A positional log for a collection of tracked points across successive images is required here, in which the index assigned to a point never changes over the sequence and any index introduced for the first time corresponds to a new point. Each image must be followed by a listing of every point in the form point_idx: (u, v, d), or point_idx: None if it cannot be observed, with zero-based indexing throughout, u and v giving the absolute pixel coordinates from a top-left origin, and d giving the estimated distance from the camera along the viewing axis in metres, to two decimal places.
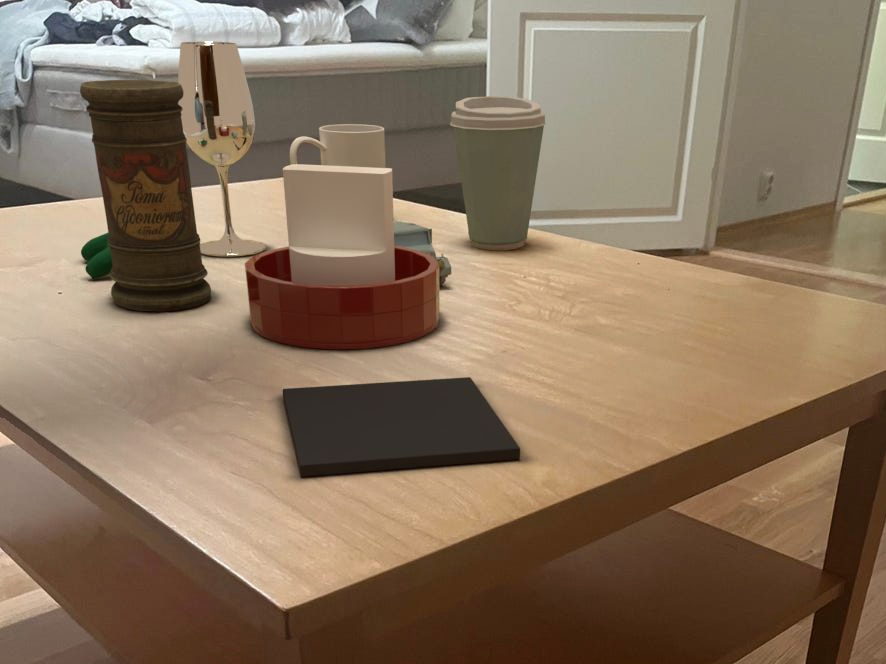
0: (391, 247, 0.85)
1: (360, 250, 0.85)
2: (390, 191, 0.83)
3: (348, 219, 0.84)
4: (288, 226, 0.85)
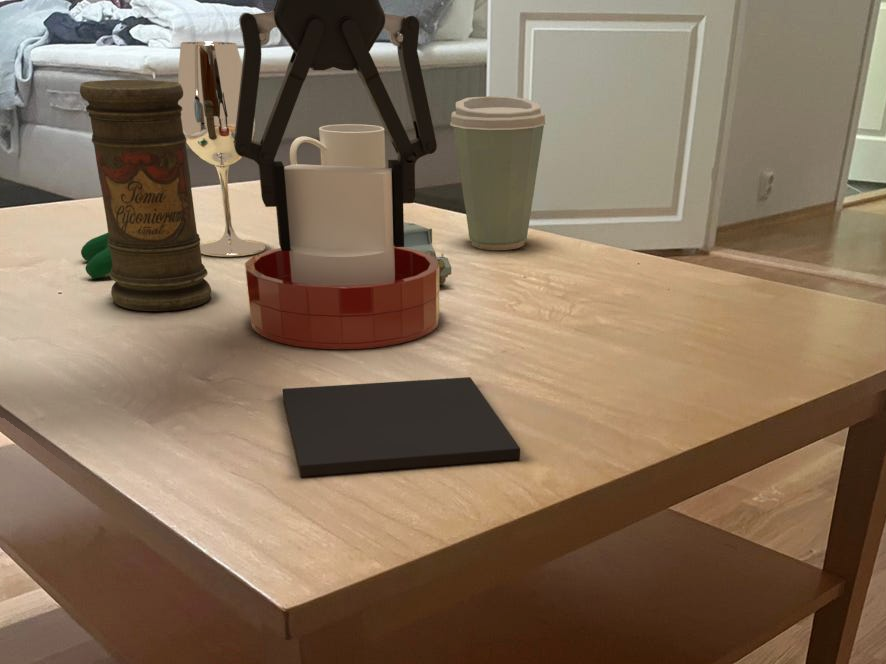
0: (391, 247, 0.85)
1: (360, 250, 0.85)
2: (390, 191, 0.83)
3: (348, 219, 0.84)
4: None
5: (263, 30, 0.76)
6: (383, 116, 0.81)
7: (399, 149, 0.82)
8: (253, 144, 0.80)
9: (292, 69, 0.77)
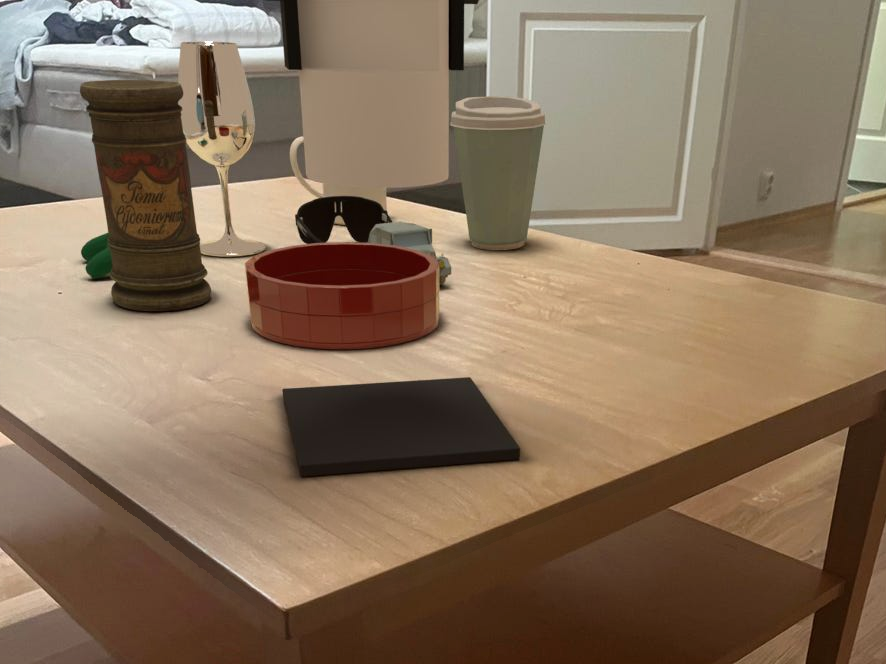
0: (446, 68, 0.59)
1: (403, 70, 0.59)
2: None
3: (385, 22, 0.58)
4: None
5: None
6: None
7: None
8: None
9: None
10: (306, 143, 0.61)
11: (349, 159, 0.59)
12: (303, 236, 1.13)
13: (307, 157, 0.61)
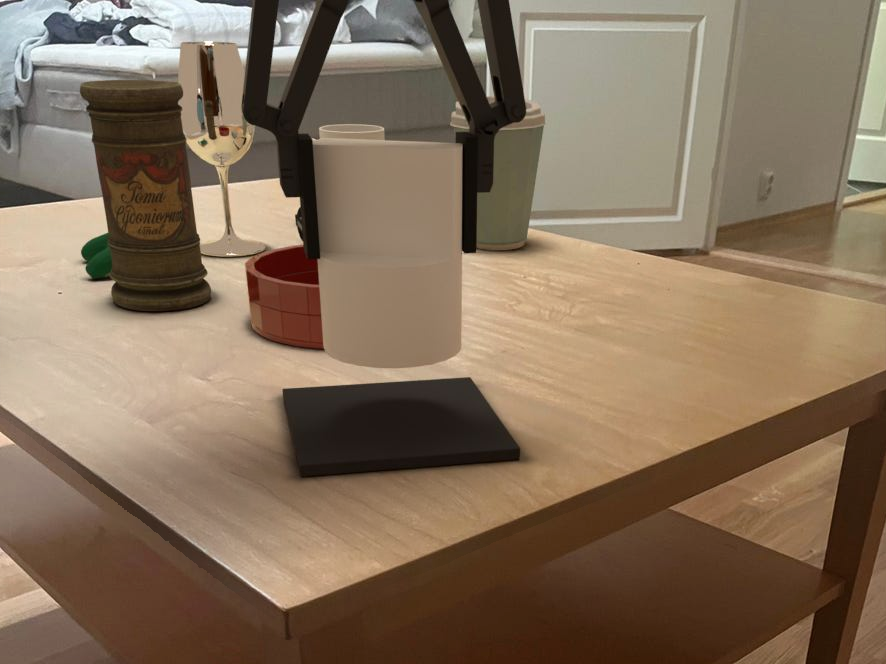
0: (459, 253, 0.61)
1: (417, 258, 0.61)
2: (460, 175, 0.59)
3: (400, 214, 0.60)
4: None
5: None
6: (453, 68, 0.57)
7: (474, 116, 0.58)
8: (269, 108, 0.56)
9: None
10: (324, 321, 0.63)
11: (365, 342, 0.61)
12: None
13: (325, 334, 0.63)
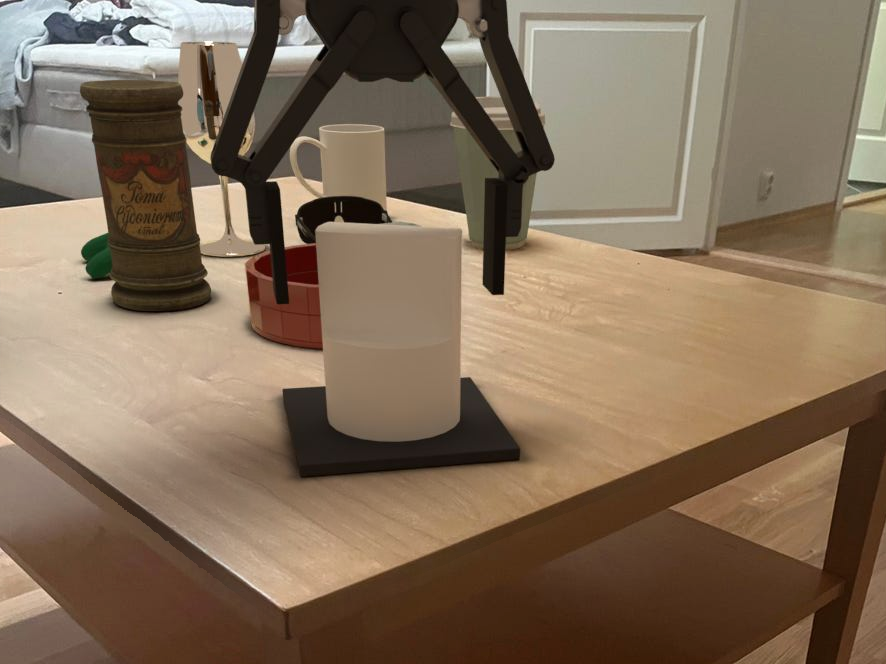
0: (458, 332, 0.64)
1: (418, 337, 0.63)
2: (459, 260, 0.62)
3: (402, 297, 0.62)
4: (321, 305, 0.63)
5: (286, 15, 0.54)
6: (475, 130, 0.59)
7: (503, 168, 0.60)
8: (237, 158, 0.57)
9: (318, 69, 0.55)
10: (328, 395, 0.66)
11: (368, 417, 0.64)
12: (303, 236, 1.13)
13: (329, 407, 0.66)
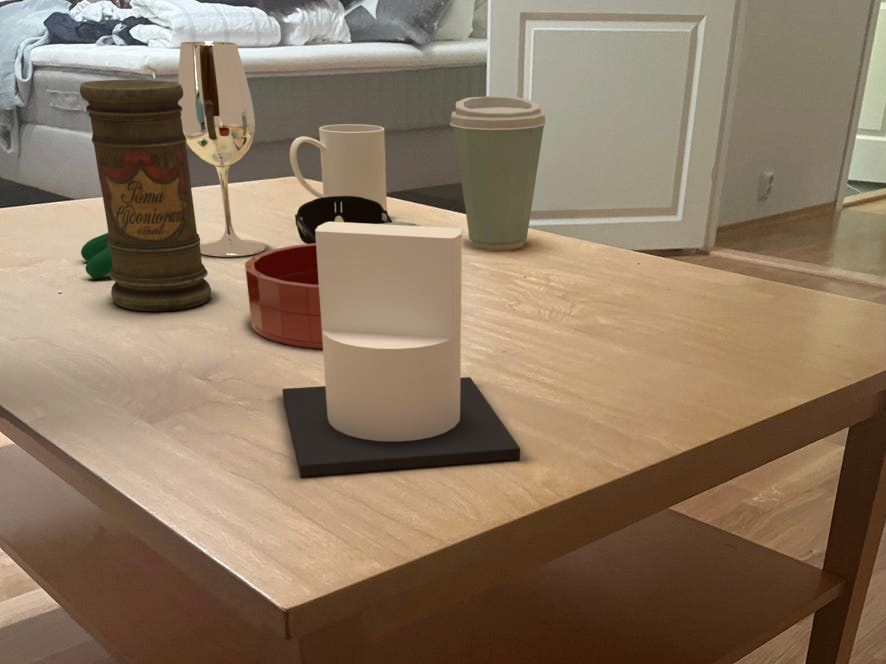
0: (458, 332, 0.64)
1: (418, 337, 0.63)
2: (459, 260, 0.62)
3: (402, 296, 0.62)
4: (321, 305, 0.63)
5: None
6: None
7: None
8: None
9: None
10: (328, 395, 0.66)
11: (368, 417, 0.64)
12: (303, 236, 1.13)
13: (329, 406, 0.66)
